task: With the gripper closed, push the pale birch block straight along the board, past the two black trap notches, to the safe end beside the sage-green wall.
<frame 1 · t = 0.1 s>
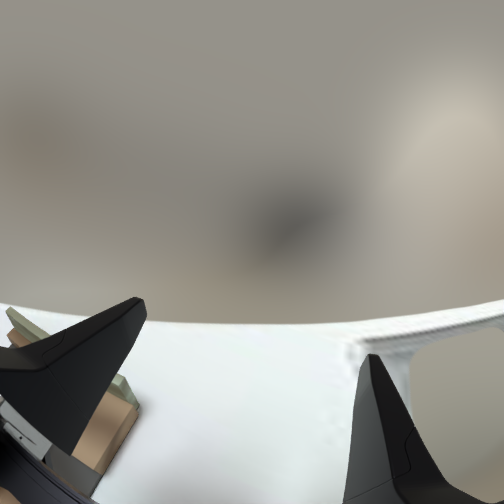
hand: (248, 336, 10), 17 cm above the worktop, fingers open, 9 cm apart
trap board: (20, 432, 16), on the worktop
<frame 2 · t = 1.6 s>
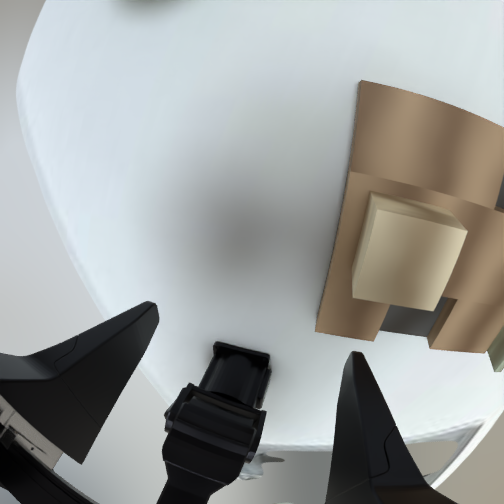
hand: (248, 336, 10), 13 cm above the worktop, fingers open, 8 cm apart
birch block: (400, 239, 18), point 2 cm above the worktop, touching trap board
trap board: (449, 240, 19), on the worktop
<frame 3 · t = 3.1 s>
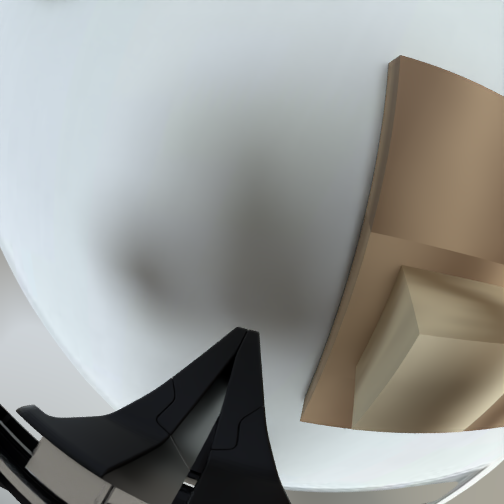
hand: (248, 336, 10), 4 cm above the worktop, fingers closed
birch block: (435, 333, 10), point 2 cm above the worktop, touching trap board
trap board: (495, 316, 11), on the worktop
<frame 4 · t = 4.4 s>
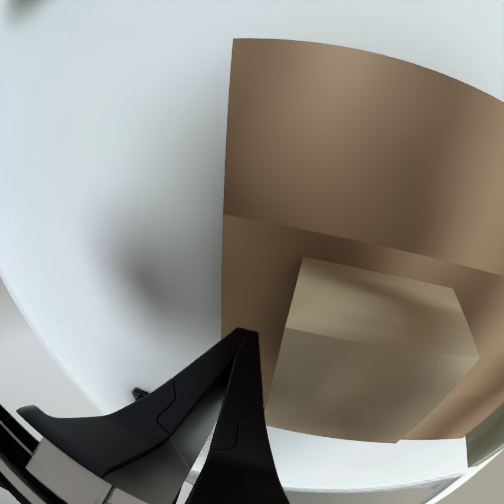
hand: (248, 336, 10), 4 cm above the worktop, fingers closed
birch block: (360, 332, 11), point 2 cm above the worktop, touching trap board
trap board: (424, 314, 12), on the worktop
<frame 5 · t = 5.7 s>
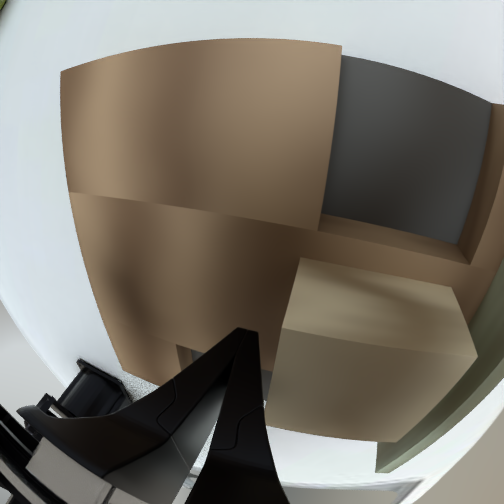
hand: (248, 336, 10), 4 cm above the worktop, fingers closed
birch block: (359, 332, 11), point 2 cm above the worktop, touching gripper, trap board
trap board: (262, 281, 13), on the worktop
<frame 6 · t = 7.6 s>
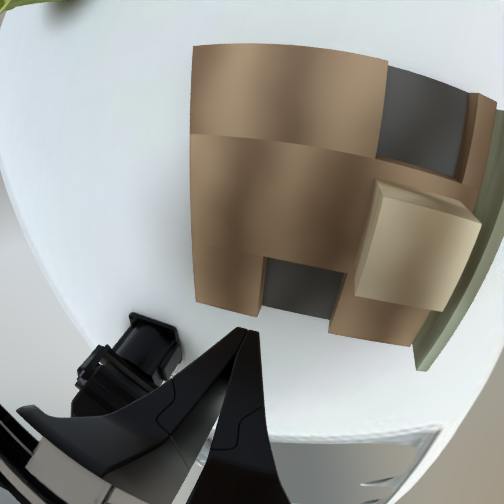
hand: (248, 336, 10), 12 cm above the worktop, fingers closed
birch block: (407, 233, 16), point 2 cm above the worktop, touching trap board
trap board: (331, 203, 19), on the worktop
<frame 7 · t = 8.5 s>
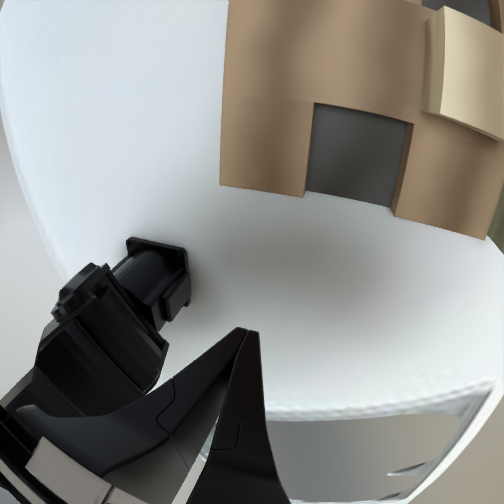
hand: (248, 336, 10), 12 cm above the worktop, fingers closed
birch block: (467, 80, 10), point 2 cm above the worktop, touching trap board
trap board: (382, 57, 13), on the worktop
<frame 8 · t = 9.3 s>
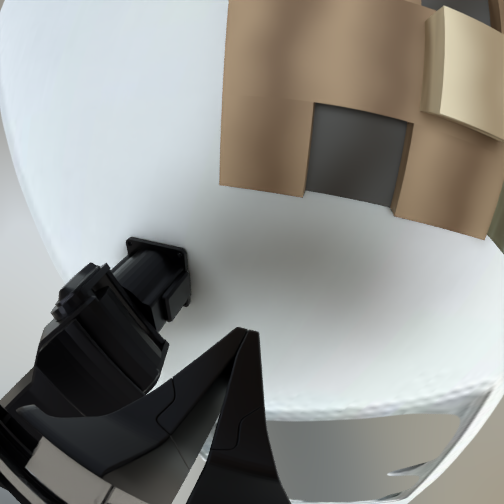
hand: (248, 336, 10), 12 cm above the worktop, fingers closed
birch block: (467, 80, 10), point 2 cm above the worktop, touching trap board
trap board: (382, 56, 13), on the worktop
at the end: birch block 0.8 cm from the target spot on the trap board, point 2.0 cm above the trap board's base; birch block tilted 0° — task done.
